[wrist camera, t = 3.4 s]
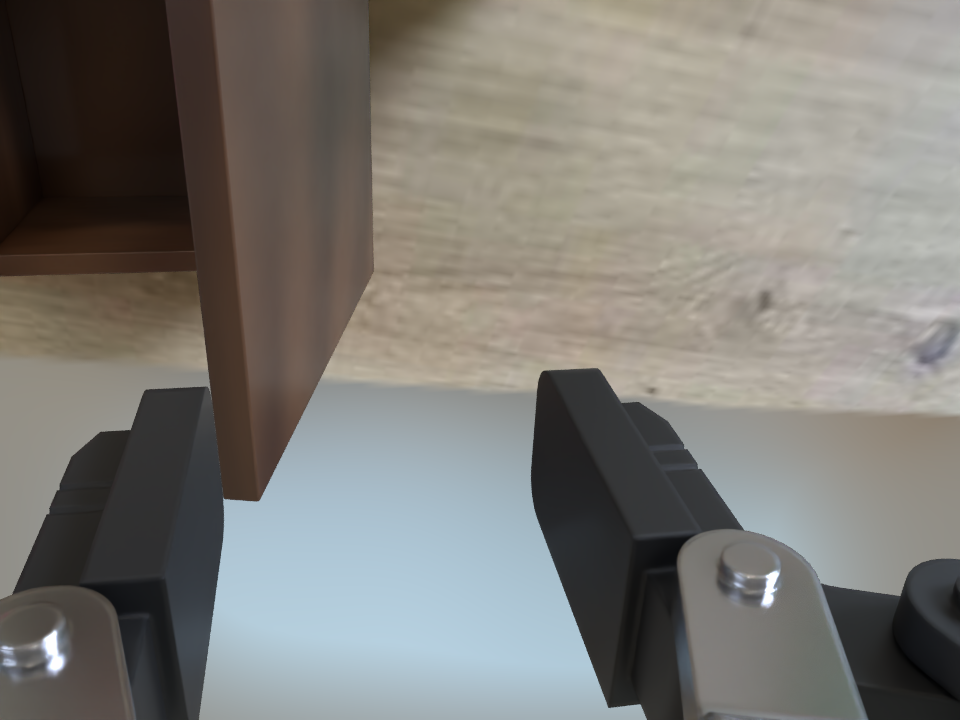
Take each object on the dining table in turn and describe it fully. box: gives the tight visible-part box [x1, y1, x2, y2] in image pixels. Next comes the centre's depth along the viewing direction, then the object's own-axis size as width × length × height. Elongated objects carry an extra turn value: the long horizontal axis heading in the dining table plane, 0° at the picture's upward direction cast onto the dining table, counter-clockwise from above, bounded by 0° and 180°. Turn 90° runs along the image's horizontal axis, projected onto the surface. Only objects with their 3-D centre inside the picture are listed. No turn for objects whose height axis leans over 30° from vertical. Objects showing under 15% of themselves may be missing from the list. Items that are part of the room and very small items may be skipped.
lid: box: [165, 0, 374, 501], centre depth 23 cm, size 14×12×1 cm
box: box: [0, 0, 197, 276], centre depth 33 cm, size 14×12×8 cm
